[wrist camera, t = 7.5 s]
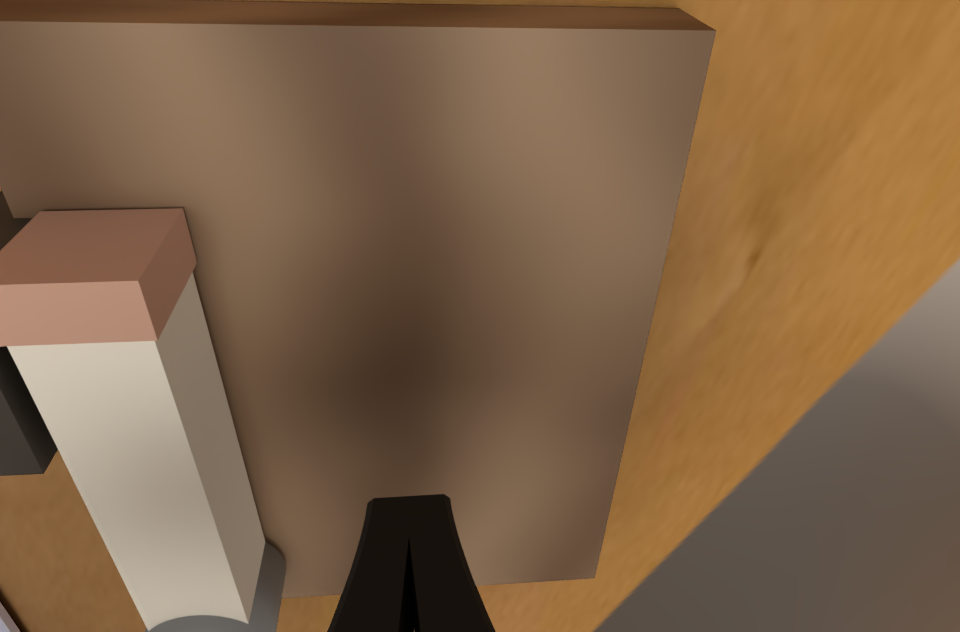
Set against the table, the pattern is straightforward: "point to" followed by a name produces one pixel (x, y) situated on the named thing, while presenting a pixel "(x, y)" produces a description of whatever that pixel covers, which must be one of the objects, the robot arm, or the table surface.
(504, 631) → the table surface
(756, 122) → the table surface
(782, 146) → the table surface
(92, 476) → the folding leg
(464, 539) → the stool seat
